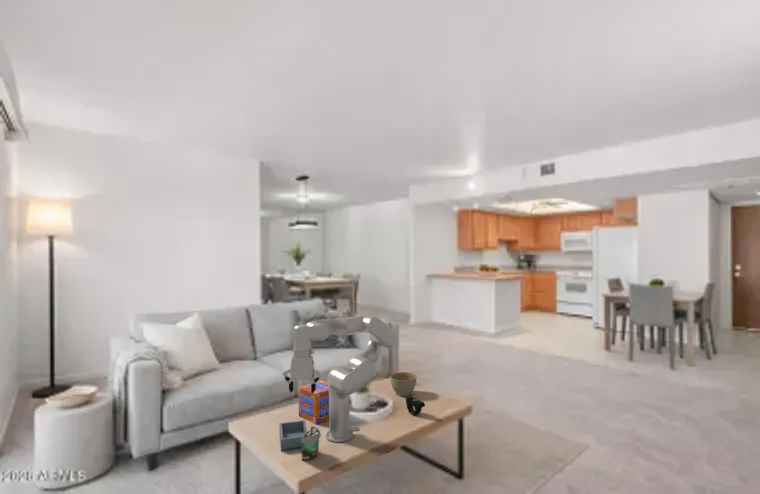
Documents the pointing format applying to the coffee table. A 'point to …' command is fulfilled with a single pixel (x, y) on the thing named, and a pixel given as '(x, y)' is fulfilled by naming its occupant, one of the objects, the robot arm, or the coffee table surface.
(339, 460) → the coffee table surface
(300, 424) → the bin
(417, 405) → the controller
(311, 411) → the game box
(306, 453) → the latticed semicircular wedge
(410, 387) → the planter bowl
